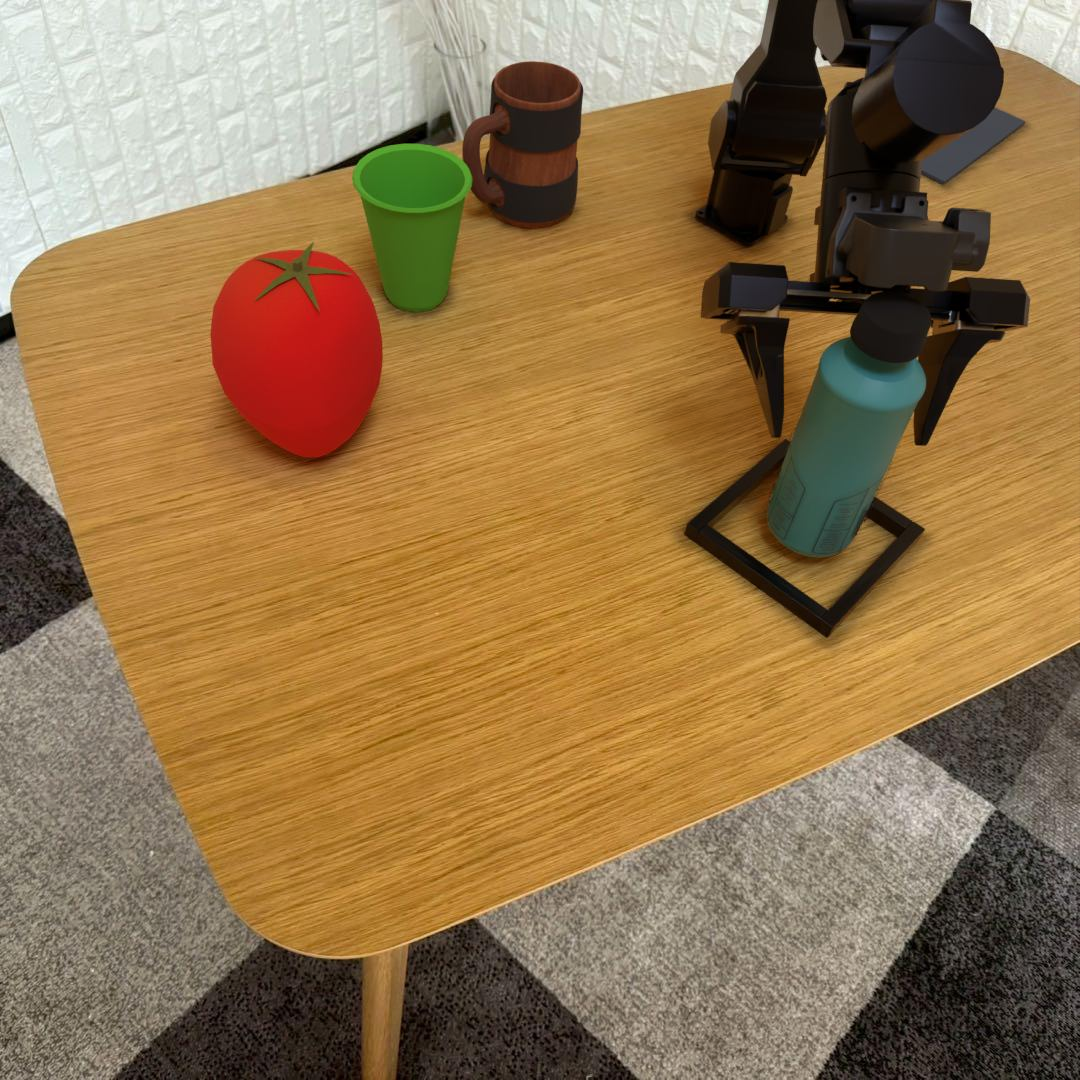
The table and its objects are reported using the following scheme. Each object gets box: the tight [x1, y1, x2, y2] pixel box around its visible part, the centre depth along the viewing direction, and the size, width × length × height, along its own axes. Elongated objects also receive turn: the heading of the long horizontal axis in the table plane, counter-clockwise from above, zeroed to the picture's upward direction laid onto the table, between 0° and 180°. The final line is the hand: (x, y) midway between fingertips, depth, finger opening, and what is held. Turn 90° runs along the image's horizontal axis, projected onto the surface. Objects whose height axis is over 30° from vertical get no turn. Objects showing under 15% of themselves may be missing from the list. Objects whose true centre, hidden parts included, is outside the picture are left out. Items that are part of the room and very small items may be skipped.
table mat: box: [921, 106, 1026, 185], centre depth 109 cm, size 12×18×1 cm, turn 137°
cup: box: [351, 143, 472, 313], centre depth 81 cm, size 9×9×11 cm
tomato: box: [209, 241, 384, 458], centre depth 70 cm, size 13×11×14 cm
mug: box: [462, 60, 584, 229], centre depth 89 cm, size 9×12×12 cm
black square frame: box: [683, 438, 926, 638], centre depth 71 cm, size 12×12×1 cm
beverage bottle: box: [765, 291, 931, 558], centre depth 64 cm, size 6×7×20 cm
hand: (848, 441), depth 63 cm, fingers open, 9 cm apart
